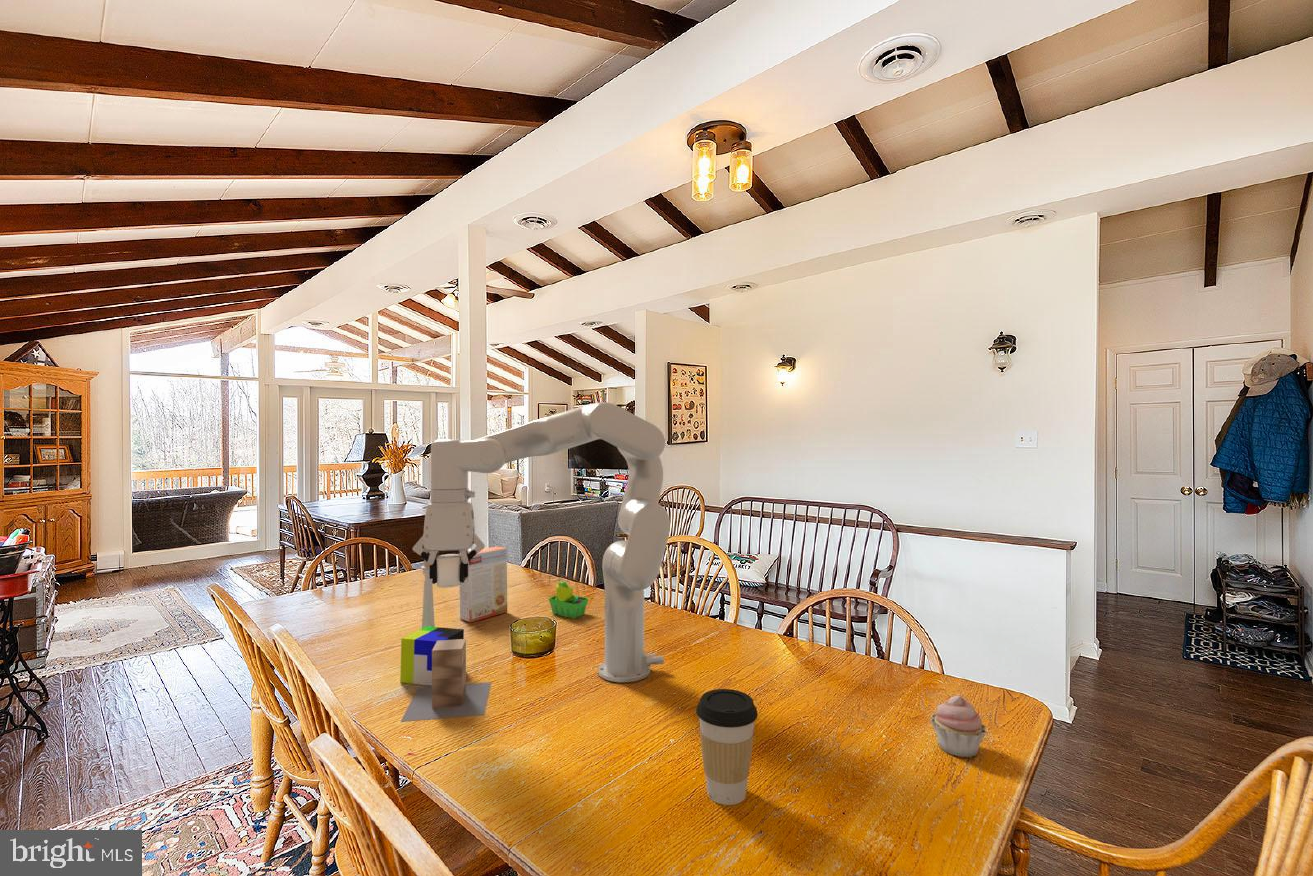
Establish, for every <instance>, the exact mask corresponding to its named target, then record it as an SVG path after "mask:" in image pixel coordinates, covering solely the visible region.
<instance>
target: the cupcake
mask: <svg viewBox="0 0 1313 876" xmlns="http://www.w3.org/2000/svg"><path fill="white" fill-rule="evenodd" d="M930 723H931V725H932V727H933V728H934V731H935V735H936V738H937V742H938V745H939V747H940V749H941V750H942V751H944V752H946V753H947V754H950V755H952V756H954V755H955V757H957V756H958V757H957V758H964V757H967V758H968V757H969V758H973V757H972V756H974V757H975V756H976V755H977V754H978V752H979V748H980V745H981V743H982V740H983V738H984V737H985V736H986V734H987V733H988V732H987V731H986V729H987V728H988V727H987V726H986V725H984V724H983V721H982V717H980V715H979V713H977V711H976V708H975V707H974V705H973V704H971V702H970V701H968V700H967V699H965V698H964V697H963V696H961V695H954V696H951V697H950V698H949V699H948V700H947V701H946V702H943V703H941V704H939V705H938V706H937V708H936V713H935V714H931V718H930ZM967 758H966V759H967Z"/></svg>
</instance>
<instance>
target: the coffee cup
mask: <svg viewBox="0 0 1313 876" xmlns="http://www.w3.org/2000/svg"><path fill="white" fill-rule="evenodd" d="M699 699H700V700H699V702H698V703H697V705H696V709H695V710H696V711H695V712H696V715H697V717H698V719H699V737H700V745H701V746H700V747H701V755H702V765H703V766H702V767H703V772H704V775H705V776H704V777H705V784H706V792H707V796H708V798H709V799H710V800H711V801H712V802H714V803H716V804H720V805H723V806H734V805H737V804H740V803H742V802H743V801H744V800H745V799H746V797H747V796H746V795H747V788H748V787H747V786H748V777H749V775H750V768H751V760H752V751H753V750H752V749H753V745H754V744H753V743H754V736H755V735H754V734H755V731H754V728H755V721H756V720H757V718H758V715H759V714H758V713H759V712H758V709H757V706H756V705H755V704H754V699H753V698H752V697H751V696H750V695H749V694H747V693H746V692H743V691H740V690H736V689H729V688H717V689H711V690H708V691H706V692H705V693H703V694H702V695H701V697H700V698H699Z"/></svg>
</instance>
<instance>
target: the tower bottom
mask: <svg viewBox="0 0 1313 876" xmlns="http://www.w3.org/2000/svg"><path fill="white" fill-rule="evenodd" d="M466 676H467V666H466V667H465V670H464V673H463V676H462V677H458V678H444V679H432V708H438V707H451V706H462V704H463V701H464V698H465V694H466V684H467V677H466Z"/></svg>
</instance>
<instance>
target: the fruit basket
mask: <svg viewBox="0 0 1313 876" xmlns="http://www.w3.org/2000/svg"><path fill="white" fill-rule="evenodd" d="M555 591H556V592H555V595H553V596H550V597H548V601H549V603H550V606H551V607H550V608H551V612H552V614H554V615H558V616H560V617H561V616H562V617H566V618H570V619H576V618H579V617H581V616H584V615H585V612H586V609H587V605H588V602H589V598H588V597H585V596H580V595H577V594H573V593H574V588H573V587H572V586H570V585H569V584H568V583H567V582H566V581H564V580H562V581H561V580H560V582H558V583H557V584H556V587H555Z"/></svg>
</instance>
